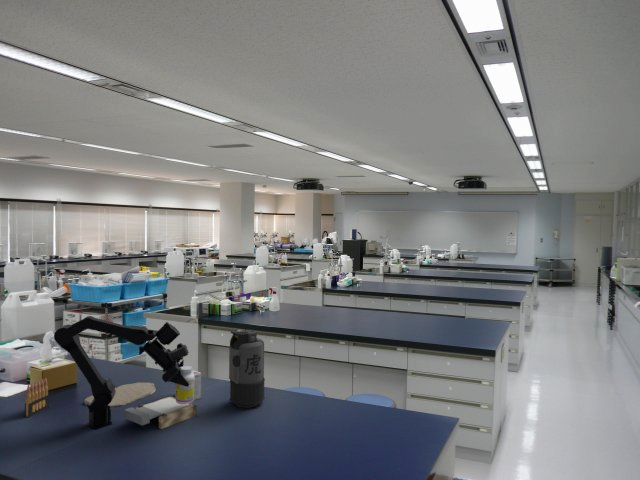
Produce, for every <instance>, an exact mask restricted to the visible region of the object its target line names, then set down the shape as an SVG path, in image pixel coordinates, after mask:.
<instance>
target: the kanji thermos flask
mask: <svg viewBox="0 0 640 480" xmlns="http://www.w3.org/2000/svg"><path fill="white" fill-rule="evenodd" d="M230 333H231V334H232V336H231V338H230V340H229V347H228V349H229V350H228V353H229V354H228V355H229V357H228V359H229V361H228V363H229V364H228V379H229V380H230V381H229V382H230V385H229V387H230V388H229V389H230V390H229V391H230V395H229V401H230V402H231V403H233V404H234V405H235V406H236V407H239V408H245V409H246V408H248V409H249V408H252V407H257V406H258V405H259V404H260V403H263V401H265V377H264V376H265V341H264V340H262V339H261V338H258V337H257V332H256V331H253V330H250V329H249V330H241V331H239V330H238V331H230Z"/></svg>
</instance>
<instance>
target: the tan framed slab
mask: <svg viewBox="0 0 640 480" xmlns="http://www.w3.org/2000/svg"><path fill="white" fill-rule="evenodd" d="M169 397H170V398H173V399H176V397H175V396H171V395H170V396H167V397H163V398H161V399H158V400H155V401H152V402H149V403H146V404H141V403H140V404H138V406H136V407H134V408H135V409H138V408H141V407H143V406H145V405H148V404H151V403H154V402H157V401H160V400H163V399H166V398H169ZM197 407H198V406H197V404H194V403H193V402H192V403H190V404H189V406H187V407H184V408H182V409H179V410H176V411H173V412H171V413H168V414H165V413H163V414H162V415H161V416H158V429H160V430H163V429H166V428H168V427H171V426H173V425H176V424H178V423H181V422H184V421H186V420H189V419H191V418H193V417H196V416H197V414H198V413H197V412H198V411H197V410H198V409H197Z"/></svg>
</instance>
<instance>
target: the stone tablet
mask: <svg viewBox="0 0 640 480" xmlns="http://www.w3.org/2000/svg"><path fill="white" fill-rule="evenodd" d="M115 390H116V392H115V396H114V398H113V399H112V401H111V403H110V404H108V405H109V406H110V408H114V407H121V406H125V405H129V404H131V403H133V402H136V401H139V400H141V399H144V398H145V397H147V396H150V395H151V396H152V395H153V394H154V393H155V392H156V391H157V390H156V386H155V383H153V382H134V383H127V384H122V385H120V386H118V387H115ZM93 399H94V397H93V394H92V395H90V396H87V397H86V398H85V399H84V401H83V402H84V405H88V406H89V405H90V403H91V402H92V400H93Z"/></svg>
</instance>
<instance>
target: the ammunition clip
mask: <svg viewBox="0 0 640 480" xmlns="http://www.w3.org/2000/svg"><path fill="white" fill-rule="evenodd" d="M26 387H27V388H26V396H25V404H24V417H25V418H31V417H33V416H35V415H37V414H39V413H41V412H42V411H44V410H46V409H48V408H50V394H49V388H48V387H49V386H48V380H47V378H46V377H44V379H43V378H41V380H38V381H37V382H36V381H35V382H34V383H31V384H28V385H27V386H26Z"/></svg>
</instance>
